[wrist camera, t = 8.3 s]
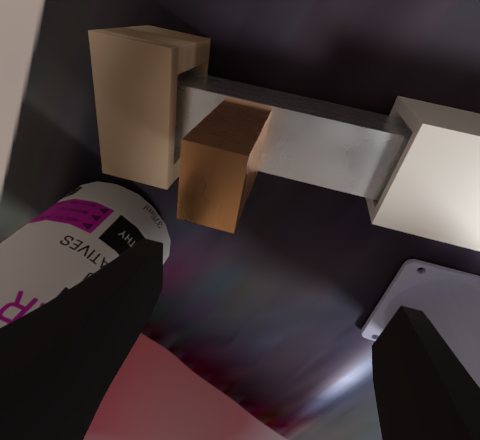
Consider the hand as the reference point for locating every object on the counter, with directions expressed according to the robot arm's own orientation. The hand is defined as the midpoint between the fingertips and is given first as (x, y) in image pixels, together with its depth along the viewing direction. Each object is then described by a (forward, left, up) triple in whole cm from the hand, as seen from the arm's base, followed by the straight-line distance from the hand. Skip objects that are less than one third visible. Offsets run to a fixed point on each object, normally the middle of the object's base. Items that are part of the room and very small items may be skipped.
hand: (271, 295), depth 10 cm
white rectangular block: (-7, -2, -10) cm, 13 cm away
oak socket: (+7, -2, -10) cm, 13 cm away
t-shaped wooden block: (+1, -2, -10) cm, 11 cm away
